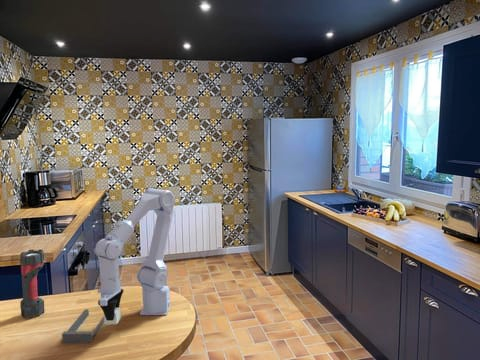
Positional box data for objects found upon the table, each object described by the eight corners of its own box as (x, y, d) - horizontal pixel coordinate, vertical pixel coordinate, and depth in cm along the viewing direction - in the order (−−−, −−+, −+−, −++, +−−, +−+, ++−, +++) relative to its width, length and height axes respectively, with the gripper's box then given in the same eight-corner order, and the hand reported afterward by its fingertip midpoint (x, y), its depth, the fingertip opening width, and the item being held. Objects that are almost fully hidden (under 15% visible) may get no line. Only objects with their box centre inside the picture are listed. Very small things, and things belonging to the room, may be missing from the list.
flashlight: (54, 310, 135) (49, 249, 131) (35, 321, 128) (29, 257, 124) (38, 307, 138) (33, 247, 134) (19, 317, 130) (13, 254, 127)
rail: (109, 314, 132) (108, 306, 131) (90, 342, 115) (89, 333, 114) (85, 314, 132) (84, 306, 131) (62, 343, 115) (61, 334, 114)
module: (120, 317, 123) (120, 306, 122) (116, 324, 119) (116, 312, 118) (108, 317, 123) (107, 306, 122) (104, 324, 119) (103, 312, 118)
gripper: (105, 267, 125) (107, 305, 127) (88, 286, 111) (91, 328, 113) (126, 267, 125) (128, 305, 128) (111, 285, 111) (114, 328, 113)
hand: (112, 316), depth 120 cm, fingers closed on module, 4 cm apart
